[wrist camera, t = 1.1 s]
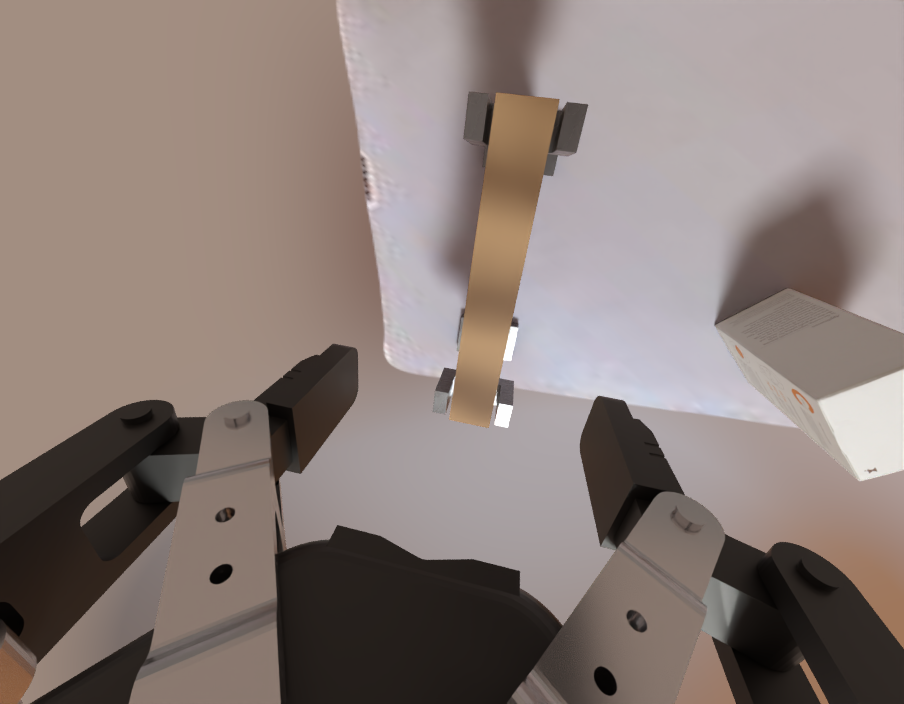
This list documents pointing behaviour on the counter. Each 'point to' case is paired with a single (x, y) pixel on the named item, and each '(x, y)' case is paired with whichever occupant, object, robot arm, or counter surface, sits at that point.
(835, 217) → the counter surface
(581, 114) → the grey support rack
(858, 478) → the small box
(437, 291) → the counter surface
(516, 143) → the tan wooden bar
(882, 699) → the robot arm
